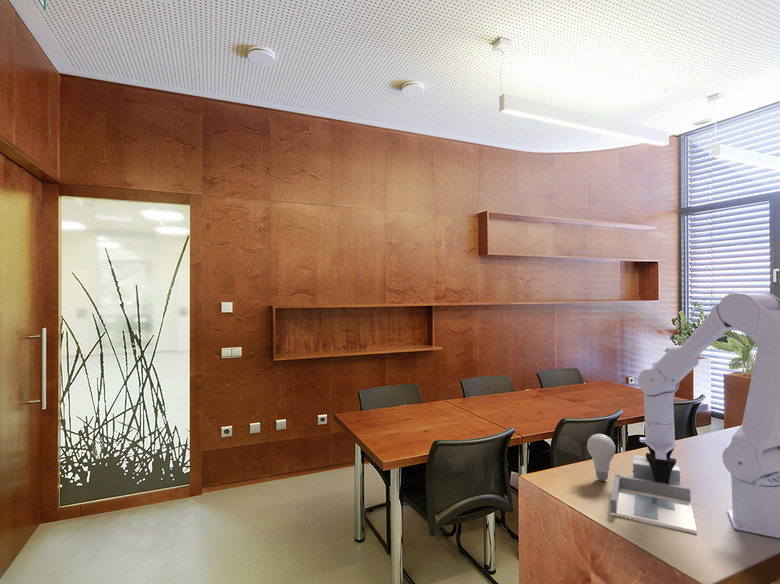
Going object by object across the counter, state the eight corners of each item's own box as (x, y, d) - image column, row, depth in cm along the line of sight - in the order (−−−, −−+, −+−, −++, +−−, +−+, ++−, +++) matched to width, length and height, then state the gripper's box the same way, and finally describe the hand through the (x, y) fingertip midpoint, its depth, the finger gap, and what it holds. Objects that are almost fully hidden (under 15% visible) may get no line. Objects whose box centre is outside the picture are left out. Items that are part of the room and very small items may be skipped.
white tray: (690, 502, 89) (689, 487, 89) (696, 534, 77) (696, 517, 77) (615, 488, 96) (615, 474, 96) (610, 515, 84) (610, 499, 84)
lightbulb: (582, 477, 102) (580, 432, 102) (601, 473, 104) (599, 429, 104) (603, 488, 96) (601, 439, 97) (622, 483, 98) (621, 436, 99)
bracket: (678, 483, 98) (678, 461, 98) (680, 493, 93) (679, 470, 93) (634, 475, 103) (633, 455, 103) (633, 484, 98) (632, 463, 98)
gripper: (639, 412, 105) (641, 467, 104) (638, 427, 92) (640, 489, 92) (673, 415, 101) (675, 472, 101) (677, 432, 89) (679, 496, 88)
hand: (661, 481), depth 96 cm, fingers open, 7 cm apart
